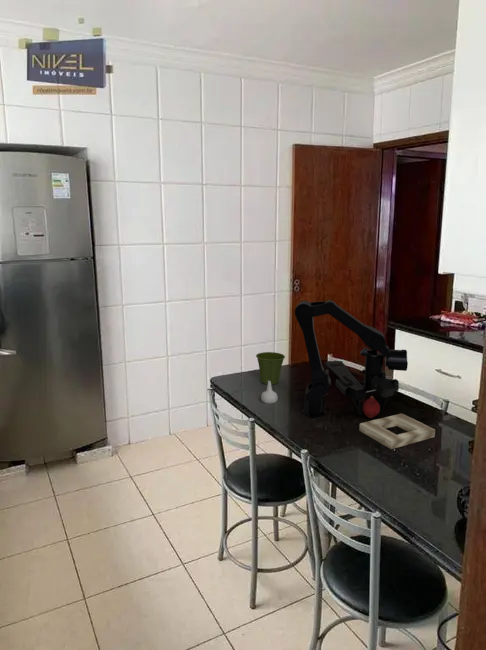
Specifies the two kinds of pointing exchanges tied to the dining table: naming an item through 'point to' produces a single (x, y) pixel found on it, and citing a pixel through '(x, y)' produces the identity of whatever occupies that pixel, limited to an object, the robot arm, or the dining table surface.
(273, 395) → the garlic bulb
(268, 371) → the plant pot
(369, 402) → the onion
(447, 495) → the dining table surface
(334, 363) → the zipper pull
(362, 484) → the dining table surface
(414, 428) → the cutout board
